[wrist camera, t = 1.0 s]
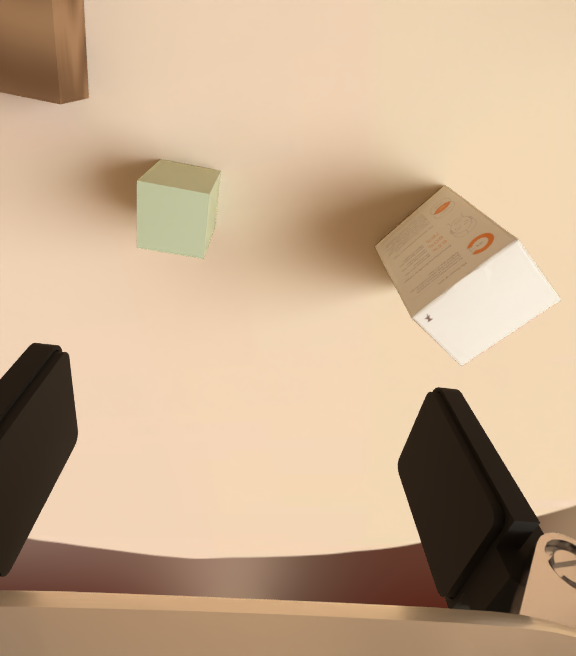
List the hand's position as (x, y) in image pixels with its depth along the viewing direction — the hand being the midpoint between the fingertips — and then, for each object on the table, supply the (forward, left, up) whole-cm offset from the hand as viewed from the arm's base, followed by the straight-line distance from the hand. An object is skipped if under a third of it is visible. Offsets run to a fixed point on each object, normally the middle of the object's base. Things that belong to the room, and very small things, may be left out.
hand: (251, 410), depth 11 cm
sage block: (+4, -6, -29) cm, 30 cm away
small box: (+4, +16, -29) cm, 33 cm away
